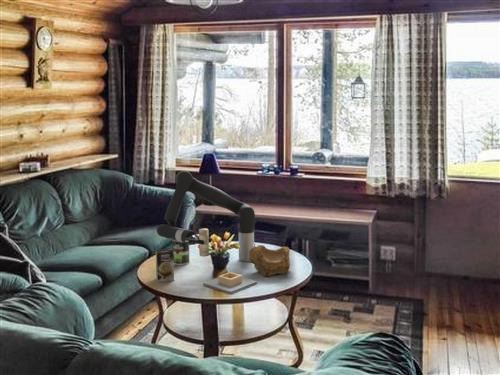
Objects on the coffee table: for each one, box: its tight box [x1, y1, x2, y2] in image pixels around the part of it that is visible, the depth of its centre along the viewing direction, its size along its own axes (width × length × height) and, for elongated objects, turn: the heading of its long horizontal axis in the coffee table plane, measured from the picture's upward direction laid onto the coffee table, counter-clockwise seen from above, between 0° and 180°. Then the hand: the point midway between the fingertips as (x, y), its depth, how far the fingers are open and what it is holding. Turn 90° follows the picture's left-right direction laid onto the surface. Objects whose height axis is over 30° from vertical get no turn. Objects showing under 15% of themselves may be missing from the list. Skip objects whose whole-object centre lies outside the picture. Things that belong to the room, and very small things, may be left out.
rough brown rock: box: [249, 244, 291, 278], centre depth 310 cm, size 23×17×15 cm
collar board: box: [202, 271, 258, 295], centre depth 294 cm, size 20×20×5 cm
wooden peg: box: [198, 228, 210, 258], centre depth 298 cm, size 5×5×14 cm
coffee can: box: [171, 239, 190, 266], centre depth 331 cm, size 10×10×14 cm
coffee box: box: [155, 248, 175, 283], centre depth 301 cm, size 9×6×16 cm
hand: (207, 241), depth 296 cm, fingers closed on wooden peg, 5 cm apart
